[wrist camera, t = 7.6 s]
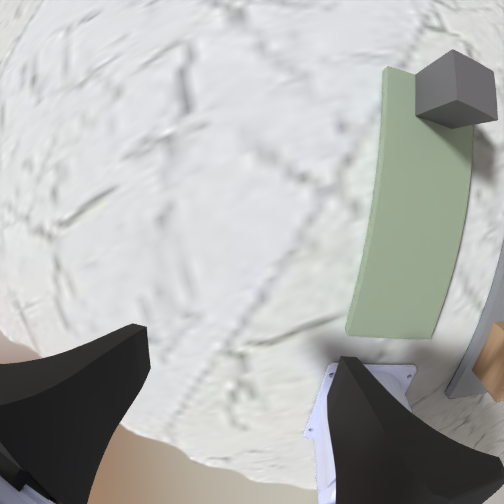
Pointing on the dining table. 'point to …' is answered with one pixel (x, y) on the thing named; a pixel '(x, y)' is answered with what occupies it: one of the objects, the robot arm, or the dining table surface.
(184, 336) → the dining table surface
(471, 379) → the grey strip with post
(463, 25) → the dining table surface
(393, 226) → the olive strip
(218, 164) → the dining table surface
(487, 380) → the walnut block
